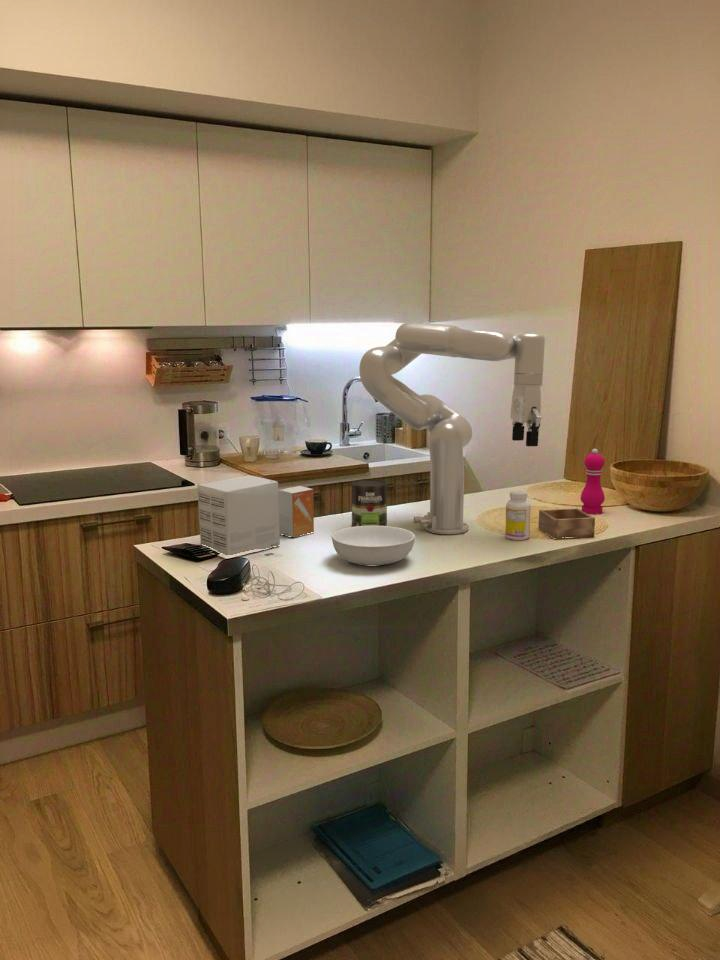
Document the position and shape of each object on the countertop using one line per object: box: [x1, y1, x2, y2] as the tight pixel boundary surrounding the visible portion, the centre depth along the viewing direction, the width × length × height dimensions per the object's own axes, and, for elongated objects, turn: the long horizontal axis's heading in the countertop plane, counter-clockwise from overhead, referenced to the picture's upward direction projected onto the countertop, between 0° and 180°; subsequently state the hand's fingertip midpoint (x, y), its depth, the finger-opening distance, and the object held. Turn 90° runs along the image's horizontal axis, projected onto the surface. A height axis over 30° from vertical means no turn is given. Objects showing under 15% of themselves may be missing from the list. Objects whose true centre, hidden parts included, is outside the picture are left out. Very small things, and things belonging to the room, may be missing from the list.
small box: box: [278, 485, 315, 538], centre depth 227 cm, size 8×6×13 cm
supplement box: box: [196, 474, 281, 555], centre depth 213 cm, size 17×13×18 cm
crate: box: [538, 507, 596, 539], centre depth 227 cm, size 12×12×6 cm
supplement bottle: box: [505, 490, 531, 541], centre depth 222 cm, size 7×7×13 cm
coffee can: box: [350, 478, 388, 527], centre depth 230 cm, size 10×10×14 cm
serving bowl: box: [331, 525, 416, 566], centre depth 202 cm, size 21×21×7 cm
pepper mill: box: [580, 448, 606, 515], centre depth 249 cm, size 7×7×20 cm
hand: (524, 443), depth 219 cm, fingers open, 9 cm apart
